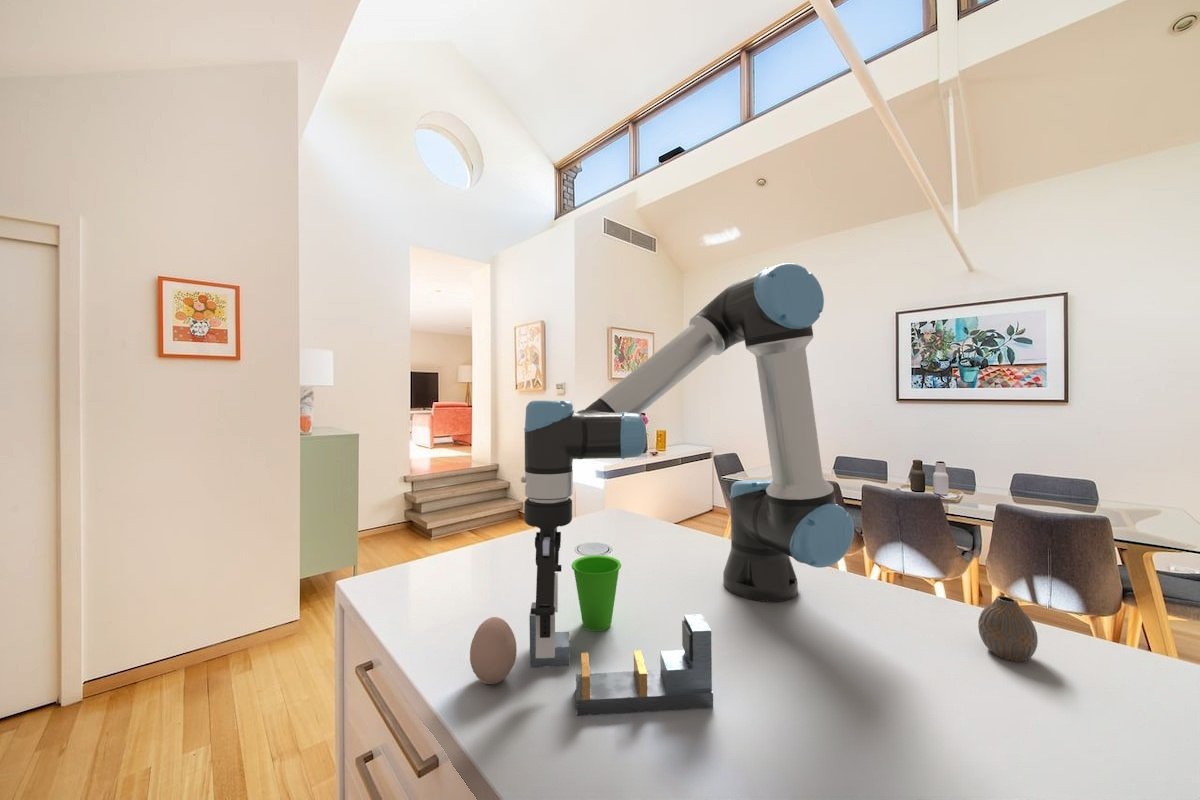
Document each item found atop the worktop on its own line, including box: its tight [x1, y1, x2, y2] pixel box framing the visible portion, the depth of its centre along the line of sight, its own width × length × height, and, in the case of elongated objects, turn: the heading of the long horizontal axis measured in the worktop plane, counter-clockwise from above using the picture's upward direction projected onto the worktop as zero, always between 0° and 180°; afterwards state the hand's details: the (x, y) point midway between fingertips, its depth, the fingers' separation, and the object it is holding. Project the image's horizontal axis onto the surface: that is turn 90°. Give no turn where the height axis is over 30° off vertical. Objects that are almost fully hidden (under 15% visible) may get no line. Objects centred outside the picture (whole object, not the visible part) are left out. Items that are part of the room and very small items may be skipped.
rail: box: [575, 613, 714, 717], centre depth 61 cm, size 18×6×10 cm, turn 94°
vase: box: [977, 595, 1039, 662], centre depth 71 cm, size 7×7×9 cm
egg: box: [469, 616, 517, 685], centre depth 65 cm, size 7×7×9 cm
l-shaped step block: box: [528, 601, 570, 669], centre depth 71 cm, size 6×4×8 cm
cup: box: [571, 554, 622, 632], centre depth 81 cm, size 9×9×11 cm
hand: (547, 632), depth 71 cm, fingers open, 13 cm apart
